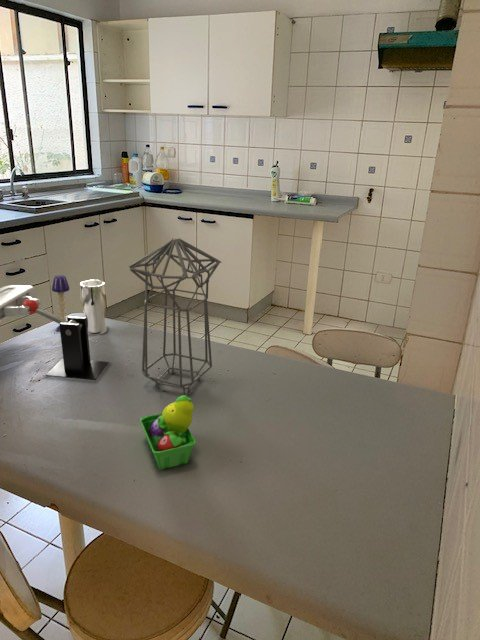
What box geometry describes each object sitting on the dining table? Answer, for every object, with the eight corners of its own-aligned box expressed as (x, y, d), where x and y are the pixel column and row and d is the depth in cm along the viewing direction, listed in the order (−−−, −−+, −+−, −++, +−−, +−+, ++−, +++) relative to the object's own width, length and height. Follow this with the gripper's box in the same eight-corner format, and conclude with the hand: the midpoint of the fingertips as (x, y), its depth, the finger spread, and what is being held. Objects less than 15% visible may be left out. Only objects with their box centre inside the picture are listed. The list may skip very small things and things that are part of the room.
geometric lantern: (192, 410, 100) (192, 251, 86) (130, 393, 105) (121, 241, 92) (221, 378, 113) (226, 236, 100) (165, 364, 118) (162, 228, 105)
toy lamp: (62, 327, 138) (56, 273, 131) (76, 329, 137) (71, 274, 131) (53, 333, 133) (46, 277, 127) (67, 335, 132) (62, 279, 126)
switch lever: (16, 312, 106) (20, 299, 105) (24, 307, 109) (29, 294, 108) (73, 339, 107) (78, 327, 106) (80, 333, 111) (85, 321, 109)
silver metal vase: (78, 334, 133) (73, 284, 128) (94, 325, 139) (90, 278, 134) (98, 338, 131) (94, 288, 125) (113, 330, 137) (110, 281, 131)
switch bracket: (45, 379, 109) (38, 326, 104) (63, 362, 117) (57, 311, 112) (95, 384, 108) (90, 330, 103) (109, 366, 116) (105, 315, 111)
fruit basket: (139, 439, 90) (137, 389, 85) (183, 430, 93) (183, 380, 89) (154, 477, 80) (153, 422, 76) (203, 465, 84) (203, 412, 79)
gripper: (4, 301, 119) (56, 304, 118) (-50, 332, 100) (11, 336, 99) (0, 277, 117) (53, 280, 116) (-56, 304, 98) (7, 309, 97)
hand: (33, 307), depth 107 cm, fingers closed on switch lever, 3 cm apart
